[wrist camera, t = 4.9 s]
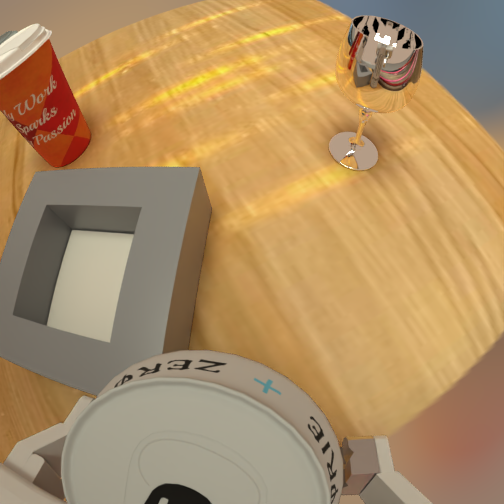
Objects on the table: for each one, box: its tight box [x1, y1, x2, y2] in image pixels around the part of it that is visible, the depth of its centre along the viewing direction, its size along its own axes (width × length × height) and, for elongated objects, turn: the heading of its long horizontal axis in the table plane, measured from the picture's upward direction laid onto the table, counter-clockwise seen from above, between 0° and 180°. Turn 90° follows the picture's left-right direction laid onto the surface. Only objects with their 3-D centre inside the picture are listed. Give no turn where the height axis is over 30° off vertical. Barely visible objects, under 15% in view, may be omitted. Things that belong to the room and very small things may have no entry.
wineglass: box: [329, 16, 423, 171], centre depth 19 cm, size 6×6×12 cm
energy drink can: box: [61, 350, 343, 504], centre depth 11 cm, size 6×6×15 cm
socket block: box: [0, 167, 212, 396], centre depth 19 cm, size 14×14×5 cm
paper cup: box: [0, 24, 91, 167], centre depth 21 cm, size 8×8×14 cm
